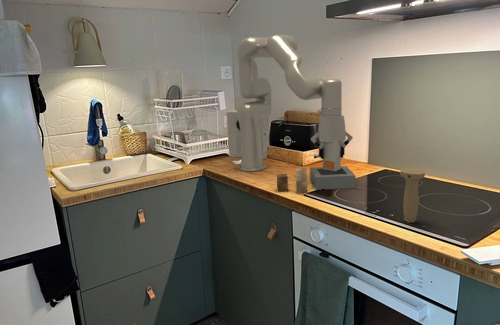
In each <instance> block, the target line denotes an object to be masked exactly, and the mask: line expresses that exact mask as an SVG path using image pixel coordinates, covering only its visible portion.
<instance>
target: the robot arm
mask: <svg viewBox="0 0 500 325" xmlns="http://www.w3.org/2000/svg"><path fill="white" fill-rule="evenodd" d="M297 50H298V43H297V40H296V39H295V38H294V37H293V36H291V35H288V34H274V35H271V36H269V37H260V36H249V37H246V38H243V39H242V40H241V41H240V43H239V44H238V46H237V49H236V57H237V63H238V64H237V65H238V79H239V80H238V83H239V94H240V96H241V98H243V99H245V100H248V99H250V100H251V99H255V100H253V101H245V102H243V103H241V104H240V105H239V106H237V109H236V110H237V116H238V120H239V125H240V134H241V150H242V158H241V159H239V160H233V161H232V166H233V165H234V166H239V167H238V168H239V171H243V172H259V171H262V170H265V169H266V165H265V164H264V163H263V159H262V148H261V131H260V128H259V125H258V124H257V121H261V120H266V119H268V120H269V118H270V117H271V114H272V86H271V83H270V81H269V80H268V79H267V77H264V76H259V70H258V65H257V62H256V60H255V58H273V60H275V62H276V63H277V64H278V65H279V67H280V68H282V70H283V71H284V77H285V82H286V84H287V86H288V87H289V89H290V90H291V91H292V92H293V94H295V96H297V97H298V98H299V99H300V100H303V101H309V100H317V99H321V100H320V101H321V102H320V105H321V108H320V109H318V110H317V114H320V116H319V118H318V119H319V120H318V128H317V130H318V131H317V132H316V133H315V134H314V135H313V136H311V138H310V141H311V142H312V143H313V144H314V145H315V146H316V147H317V148H318V157H319V158H320V159H321V160H323V145H324V143H331V142H333V141H337V142H340V143H341V159H344V156H345V155H346V154H345V150H346V149H345V148H346V147H347V146H348V144H349V143H350V142H351V141H352V140H353V136H352V135H351V134H349V133H348V132H347V131H346V122H345V116H344V115H342V110H343V108H342V107H343V106H342V99H343V98H342V95H343V94H342V90H343V88H342V80H340V79H336V78H335V79H321V78H320V79H319V78H317V79H316V78H315V79H314V78H313V79H306V78H305V77H304V75H303V74H302V73H301V72H300V70H299V67H300V66H301V64H302V61H303V59H302V57H301V55H300V54H299V53H298V52H297ZM316 139H318V141H319V142H318V141H317V140H316Z"/></svg>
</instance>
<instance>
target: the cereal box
mask: <svg viewBox="0 0 500 325" xmlns="http://www.w3.org/2000/svg"><path fill="white" fill-rule="evenodd" d="M257 124H258V125H259V128H260V131H261V148H262V160H264V159H267V158H268V157H267V146H269V147H270V126H269V124H270V123H269V118H268V119H266V120H261V121H257ZM226 126H227V127H226V128H227V141H228V142H227V143H228V153H229V154H228V156H229V157H230V158H241V159H242V150H241V134H240V125H239V120H238V116H237V109H232V110H227V111H226Z"/></svg>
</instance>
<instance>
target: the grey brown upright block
mask: <svg viewBox="0 0 500 325" xmlns="http://www.w3.org/2000/svg"><path fill="white" fill-rule="evenodd" d="M295 180H296V181H295V182H296V183H295V184H296V186H295V187H296V190H295V191H296V193H297V194H299V195H303V194H304V193H305V194H308V168H307V167H298V168H296V169H295Z"/></svg>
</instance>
